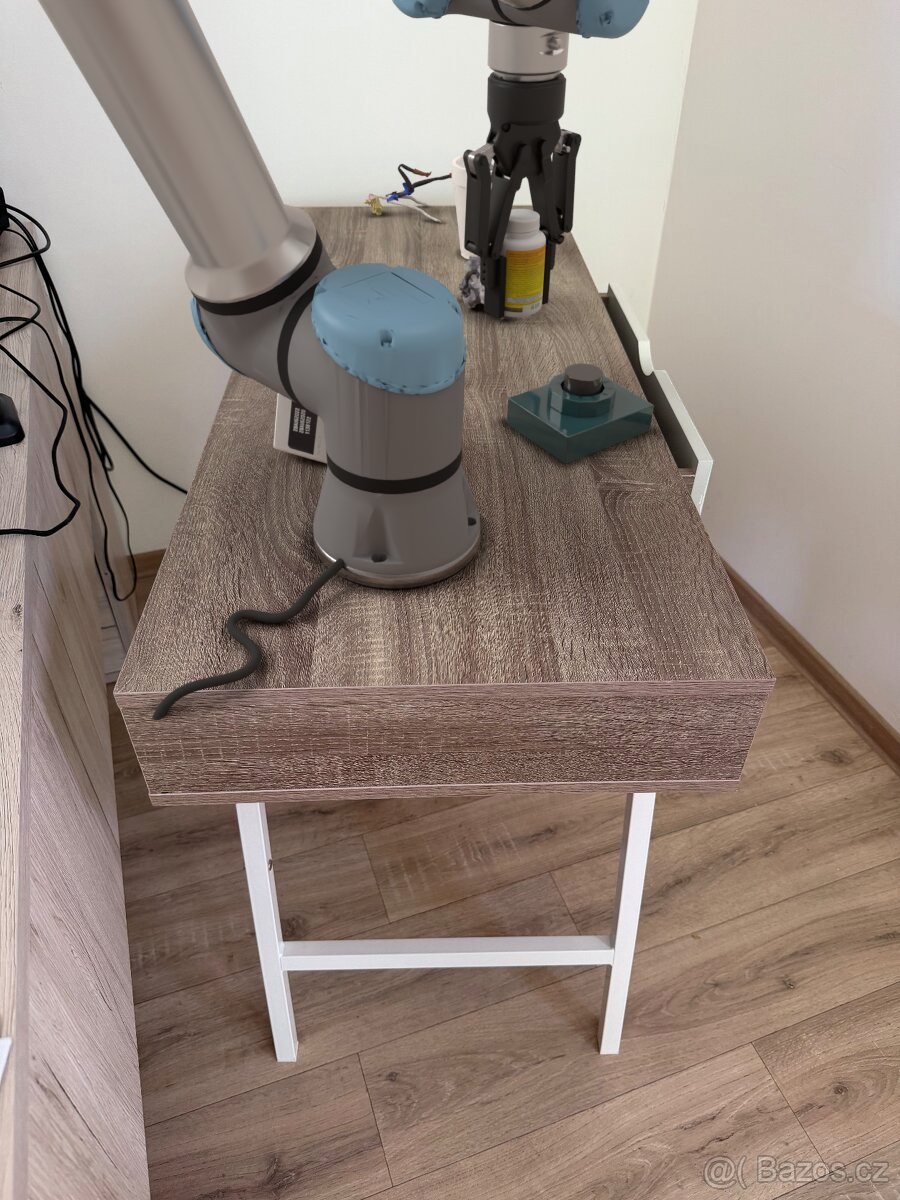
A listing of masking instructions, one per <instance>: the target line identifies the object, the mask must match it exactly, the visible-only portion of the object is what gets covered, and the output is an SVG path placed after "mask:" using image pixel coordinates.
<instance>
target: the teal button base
mask: <svg viewBox="0 0 900 1200" xmlns="http://www.w3.org/2000/svg"><path fill="white" fill-rule="evenodd" d="M564 375H565V372H562V373H560V374H556V375H554V376H553V377H552V379H551V380H549V382H548V384H545V385H542V386H539V387H536V388H533V389H530V390H527V391H524V392H521V393H518V394H515V395H512V396H509V397H507V410H506V411H507V412H506V424H507V425H508V426H509V427H511V428H512V429H514V431H516V432H518V433H519V434H521V435H522V436H524V437H525V438H527V439H528V440H530V441H531V442H533V443H534V444H535V445H537V446H538V447H540V448H542V450H544V451H546V452H547V453H548V454H550V455H551V456H553V457H554V458H556V459H557V460H559V461H560V462H561V463H563V464H565V465H566V464H569V463H572V462H575V461H577V460H579V459H582V458H585V457H588V456H589V455H590V456H591V455H593V454H595V453H598V452H600V451H603V450H605V449H607V448H610V447H613V446H616V445H618V444H621V443H623V442H625V441H629V440H631V439H633V438H636V437H639V436H642V435H644V434H646V433H649V432H650V431H651V427H652V425H651V424H652V419H653V414H654V409H655V408H654V407H655V405H654V404H653V403H651V402H649V401H648V400H646V399H644V398H642V397H641V396H639V395H637V394H635V393H634V392H632V391H630V390H628V389H626V388H625V387H623V386H621V385H620V384H618V383H617V382H615V381H613V380H612V379H610V378H608V377H607V376H605V375H603V380H602V388H601V393H600V394H597V395H594V396H586V397H580V396H576V395H571V394H569V393H567V392H565V391H564V389H563V385H564Z"/></svg>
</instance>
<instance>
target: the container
mask: <svg viewBox="0 0 900 1200" xmlns="http://www.w3.org/2000/svg"><path fill="white" fill-rule="evenodd" d="M276 397H277V398H276V408H275V421H274V433H273V449H275V450H276V451H280V452H284V453H287V454H291V455H294V456H299V457H302V458H305V459H309V460H313V461H316V462H320V463H324V464H327V454H326V444H325V434H324V423H323V421H322V419H321V418H320V416H318V415H316V414H314V413H313V412H311V411H309V410H307V409H306V408H304V407H302V406H300V405H299V404H297V403H295V402H294V401H292V400H290V399H288V398H286V397H284V396H283V395H281V394H279V393H277V396H276Z"/></svg>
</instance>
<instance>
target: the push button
mask: <svg viewBox="0 0 900 1200" xmlns="http://www.w3.org/2000/svg"><path fill="white" fill-rule="evenodd" d="M564 373H565V375H564V385H563V389H564V391H565V392H567V393H569V394H571V395H576V396H580V397H586V396H594V395H597V394H600V393H601V388H602V380H603V376H604V371H603V370H602V368H601V367H599V366H597V365H595V364H594V365H593V364H590V363H584V362H583V363H582V362H581V363H574V364H570V365H568V366H566V368H565V369H564Z"/></svg>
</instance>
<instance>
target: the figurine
mask: <svg viewBox="0 0 900 1200" xmlns="http://www.w3.org/2000/svg"><path fill="white" fill-rule="evenodd" d="M402 169H404V170H405V171H406V172H410V173H412V174H414V175H417V176H420V177H426V178H425V179H422V180H418V181H415V182H413V183H412V181H411V180H410V178H409V177H408V176H407V174H406V173H405V172H404V171H403V170H402ZM397 171H398V173H399V174H400V176H401V178H402V179H403V181H404V182H402V187H403V189H404V190H401V191H399V192H398V191H397V190H395V191H392V192H391V193H388V194H385V196H382V195H378V194H373V193H369V194H368V196H367V199H364V201H363V205H362V206H363V207H364V205H368V206H370V207H371V211H372V214H375V215H377V216H381V215H382V214H383V212H382V209H383V205H382V204H381V201H380V199H382V200H386V202H387V204H393V205H396V206H401V207H404V208H408V209H413V210H414V211H417V212H419V213H421V214H422V215H424V216H425V217H426V218H429V219H430V220H432V221H433V222H436V223H442V224H443V222H442V221H441V220H440V219H438V218H436V217H434V216H432V215H430V214H429V213H427V212H426V211H425V210H423V209H422V208H420V207H418V206H415V205H414V204H409V203H406V202H403V201H399V199H403V200H411V201H413V202H414V203H416V204H417V205H422V206H428V204H427V203H426V202H423V201H420V200H417V199H416V198H415V197H414V196H412V194H414V193H415V192H416V191H415V189H416V188H420V187H422V186H425V185H428V184H432V183H433V182H436V181H445V180H449V179H452V172H449V174H445V175H441V176H436V177H431V178H429V177H430V176H431V175H432V171H429V172H428V171H427V172H426V171H422V170H420V169H417V168H412V167H410V166H408V165H406V164H404V163H400V164H399V165H398V167H397Z"/></svg>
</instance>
